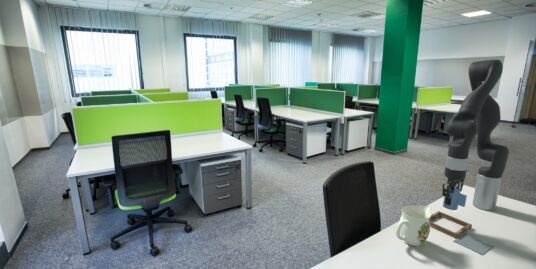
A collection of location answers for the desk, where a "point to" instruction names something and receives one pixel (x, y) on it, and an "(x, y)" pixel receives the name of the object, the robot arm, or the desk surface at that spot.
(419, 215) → the pitcher
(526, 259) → the desk surface
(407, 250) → the desk surface
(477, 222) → the desk surface
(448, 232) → the holder
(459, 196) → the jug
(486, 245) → the mat
